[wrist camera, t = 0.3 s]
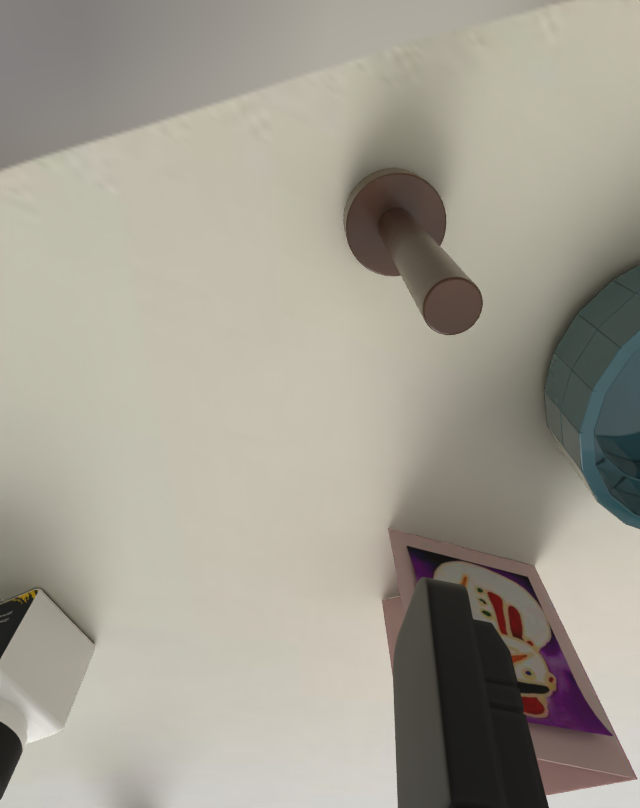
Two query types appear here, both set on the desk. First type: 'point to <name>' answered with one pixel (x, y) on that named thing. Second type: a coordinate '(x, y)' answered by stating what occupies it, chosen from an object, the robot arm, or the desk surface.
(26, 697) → the medicine bottle
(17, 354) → the desk surface
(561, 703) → the greeting card
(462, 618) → the robot arm
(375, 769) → the desk surface
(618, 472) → the bowl
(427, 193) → the brown joystick
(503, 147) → the desk surface
